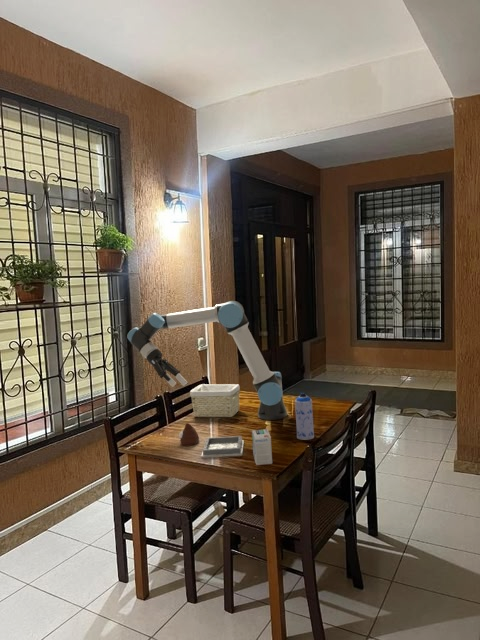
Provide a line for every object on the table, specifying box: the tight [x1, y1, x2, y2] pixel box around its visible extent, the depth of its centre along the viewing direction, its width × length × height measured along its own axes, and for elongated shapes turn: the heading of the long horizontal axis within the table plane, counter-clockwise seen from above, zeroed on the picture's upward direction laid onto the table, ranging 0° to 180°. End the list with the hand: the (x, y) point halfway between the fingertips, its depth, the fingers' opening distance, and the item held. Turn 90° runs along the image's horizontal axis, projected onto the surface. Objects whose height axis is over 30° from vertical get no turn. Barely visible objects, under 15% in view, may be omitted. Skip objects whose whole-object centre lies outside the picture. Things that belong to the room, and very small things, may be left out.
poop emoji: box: [178, 422, 200, 447], centre depth 221 cm, size 10×8×9 cm
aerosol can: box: [294, 392, 315, 441], centre depth 217 cm, size 8×8×20 cm
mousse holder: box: [200, 435, 245, 459], centre depth 209 cm, size 17×16×3 cm
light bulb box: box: [251, 428, 273, 466], centre depth 194 cm, size 11×7×11 cm, turn 5°
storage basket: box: [189, 383, 241, 418], centre depth 263 cm, size 24×16×15 cm
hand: (180, 384), depth 231 cm, fingers open, 13 cm apart
